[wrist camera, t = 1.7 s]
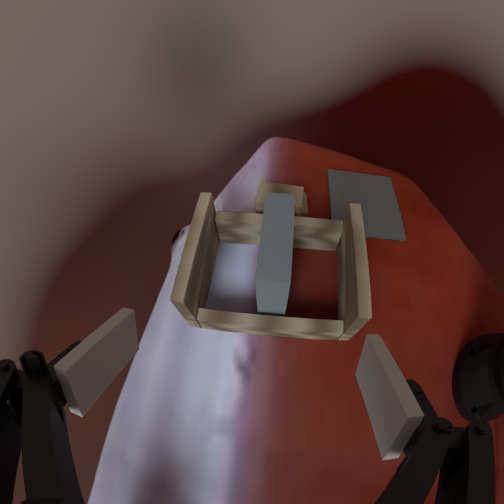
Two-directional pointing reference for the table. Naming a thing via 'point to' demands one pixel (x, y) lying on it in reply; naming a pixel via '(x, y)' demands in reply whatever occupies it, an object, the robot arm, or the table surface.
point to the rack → (304, 236)
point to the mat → (367, 202)
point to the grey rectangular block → (275, 254)
